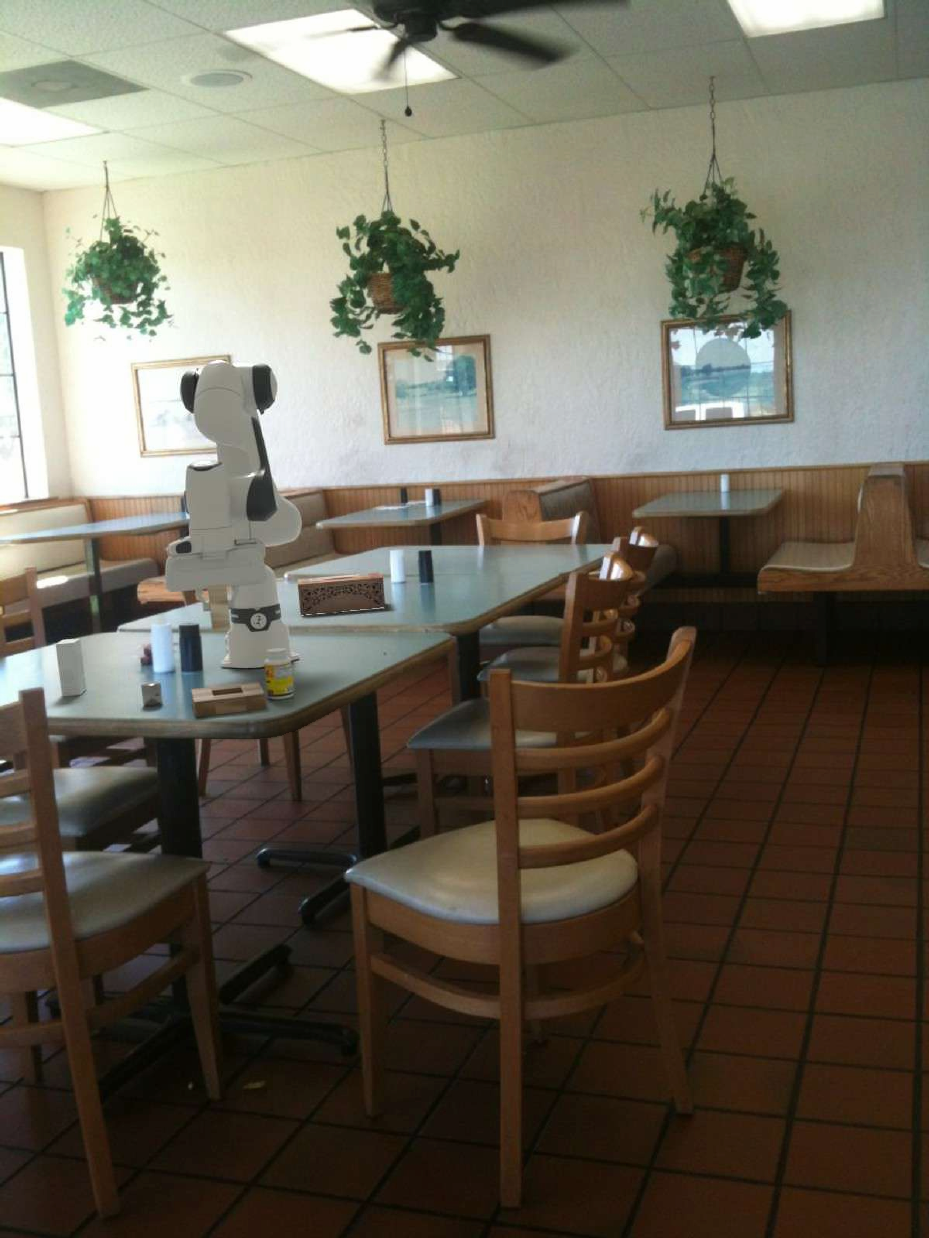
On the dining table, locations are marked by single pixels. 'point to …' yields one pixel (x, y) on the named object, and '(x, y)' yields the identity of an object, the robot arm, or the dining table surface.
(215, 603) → the long pin
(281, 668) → the supplement bottle
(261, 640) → the robot arm
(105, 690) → the dining table surface
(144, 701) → the short pin
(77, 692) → the skincare box
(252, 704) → the hole plate
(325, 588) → the tissue box cover
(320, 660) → the dining table surface
